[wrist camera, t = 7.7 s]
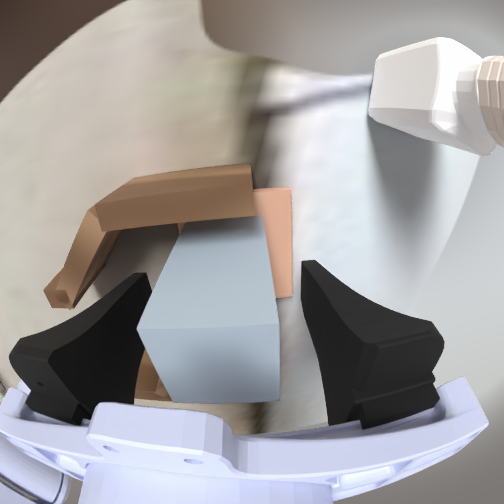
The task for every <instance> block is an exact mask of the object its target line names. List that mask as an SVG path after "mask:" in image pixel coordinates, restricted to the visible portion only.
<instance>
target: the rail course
mask: <svg viewBox="0 0 504 504" xmlns="http://www.w3.org/2000/svg"><path fill="white" fill-rule="evenodd" d="M247 216H255V208H254V195H253V183H252V173H251V164H250V163H245V164H234V165H224V166H214V167H205V168H197V169H189V170H182V171H174V172H168V173H161V174H155V175H149V176H143V177H137V178H133V179H132V180H130V181H129V182H127V183H126V184H124V185H122V186H121V187H119V188H118V189H116V190H115V191H113V192H112V193H111V194H109V195H108V196H106V197H105V198H103V199H102V200H100V201H99V202H98V203H96V204H95V205H94V206H93V207H91V208H90V209H89V210H87V213H86V215H85V217H84V219H83V221H82V223H81V226H80V228H79V230H78V232H77V235H76V237H75V239H74V242H73V244H72V247H71V249H70V252H69V254H68V257H67V259H66V262H65V265H64V268H63V269H62V270H61V271H60V272H59V273H58V274H57V275H56V276H55V277H54V279H53V280H52V281H51V282H50V283H49V284H48V285H47V287H46V288H45V289H44V292H45V295H46V297H47V299H48V301H49V303H50V305H51V307H52V308H68V309H69V310H71V308H73V309H74V308H75V307H76V305H77V304H78V302H79V301H80V299H81V298H82V297H83V295H84V294H85V292H86V291H87V290H88V288H89V287H90V285H91V284H92V283H93V281H94V280H95V279H96V277H97V276H98V275H99V273H100V272H101V271H102V269H103V268H104V267H105V266H106V265H105V263H104V262H105V260H106V258H107V256H108V254H109V253H110V251H111V249H112V247H113V245H114V244H115V242H116V240H117V238H118V237H119V235H120V233H121V231H122V230H123V229H129V228H137V227H145V226H154V225H163V224H172V223H182V222H191V221H202V220H212V219H223V218H235V217H247ZM134 398H137V399H146V400H158V401H172V399H171V397H170V395H169V394H168V392H167V390H166V388H165V386H164V384H163V383H162V381H161V379H160V377H159V375H158V373H157V371H156V369H155V367H154V365H153V363H152V361H151V359H150V357H149V355H148V353H147V351H146V349H145V351H144V354H143V357H142V360H141V363H140V367H139V372H138V377H137V383H136V390H135V397H134ZM172 402H173V401H172Z"/></svg>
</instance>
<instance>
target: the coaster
mask: <svg viewBox="0 0 504 504" xmlns="http://www.w3.org/2000/svg"><path fill="white" fill-rule="evenodd" d="M253 195H254V208H255V216H263V222H264V228H265V234H266V240H267V246H268V253H269V259H270V265H271V272H272V278H273V285H274V291H275V298H283V297H292V216H291V189H290V188H289V187H279V188H264V189H253ZM247 217H249V216H247ZM235 218H237V217H235ZM223 219H225V218H223ZM212 220H214V219H212ZM202 221H204V220H202ZM191 222H193V221H191ZM185 223H186V222H182V223H177V225H178V230H179V235H180V233H181V231H182V229H183V227H184V225H185Z"/></svg>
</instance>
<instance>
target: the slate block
mask: <svg viewBox="0 0 504 504" xmlns="http://www.w3.org/2000/svg"><path fill="white" fill-rule="evenodd" d="M137 331H138V333H139V335H140V338H141V340H142V342H143V344H144V346H145V349H146V351H147V353H148V355H149V357H150V359H151V361H152V363H153V365H154V367H155V369H156V371H157V373H158V375H159V377H160V379H161V381H162V383H163V384H164V386H165V388H166V390H167V392H168V394H169V395H170V397H171V399H172V401H173V402H174V403H199V404H227V403H254V402H269V401H280V336H279V318H278V311H277V305H276V298H275V291H274V285H273V278H272V272H271V265H270V259H269V253H268V246H267V240H266V234H265V228H264V222H263V216H249V217H237V218H225V219H214V220H204V221H193V222H186V223H185V225H184V227H183V229H182V231H181V233H180V235H179V237H178V239H177V241H176V243H175V245H174V247H173V249H172V251H171V253H170V255H169V257H168V259H167V262H166V264H165V266H164V268H163V270H162V272H161V274H160V276H159V279H158V281H157V283H156V285H155V287H154V289H153V292H152V294H151V296H150V298H149V301H148V303H147V305H146V307H145V310H144V312H143V314H142V317H141V319H140V321H139V324H138V326H137Z"/></svg>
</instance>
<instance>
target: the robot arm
mask: <svg viewBox="0 0 504 504" xmlns="http://www.w3.org/2000/svg"><path fill="white" fill-rule="evenodd" d="M151 294H152V290H151V287H150V284H149V280H148V277H147V274H146V273H135V274H133V275H131V276H130V277H128V278H127V279H126V280H124V281H123V282H122V283H120V284H119V285H118V286H117V287H115V288H114V289H113V290H111V291H110V292H109V293H108V294H106V295H105V296H104V297H102V298H101V299H100V300H98V301H97V302H96V303H94V304H93V305H92V306H90V307H89V308H87V309H86V310H84V311H82V312H81V313H79V314H78V315H76V316H74V317H72V318H71V319H69V320H67V321H65V322H63V323H61V324H59V325H57V326H55V327H52V328H50V329H48V330H45V331H42V332H40V333H37V334H34V335H30V336H27V337H24V338H20V339H19V341H18V342H17V344H16V345H15V347H14V348H13V350H12V351H11V353H10V354H9V360H10V363H11V365H12V367H13V369H14V370H15V372H16V373H17V374H18V376H19V377H20V378H21V381H20V383H19V384H18V386H17V388H16V389H15V388H12V387H9V389H8V391H7V393H6V395H5V397H4V399H3V401H2V403H1V405H0V476H1V477H2V478H3V479H5V480H6V481H8V482H9V483H11V484H13V485H14V486H16V487H18V488H19V489H21V490H23V491H24V492H26V493H28V494H29V495H31V496H33V497H35V498H37V499H39V500H34V499H31V498H29V497H27V496H25V495H23V494H22V493H20V492H18V491H17V490H15V489H13V488H12V487H10V486H8V485H7V484H5V483H4V482H2V481H1V480H0V504H64V503H65V501H66V499H67V497H68V495H69V491H70V487H71V477H74V478H76V479H79V480H81V481H83V485H82V490H81V494H80V498H79V503H78V504H333V501H335V500H339V499H343V498H347V497H351V496H354V495H358V494H361V493H364V492H367V491H370V490H373V489H376V488H379V487H382V486H385V485H387V484H390V483H392V482H395V481H398V480H400V479H402V478H405V477H407V476H410V475H412V474H414V473H416V472H419V471H421V470H423V469H425V468H427V467H429V466H431V465H433V464H436V463H438V462H440V461H442V460H444V459H445V458H448V457H450V456H452V455H453V454H455V453H457V452H458V451H459V450H461V449H462V448H463V447H464V446H466V445H467V444H468V443H469V442H470V441H471V440H472V439H474V438H475V437H476V436H477V435H478V434H479V433H480V432H481V431H482V430H483V429H485V428H486V426H488V424H489V422H488V420H487V418H486V416H485V414H484V412H483V410H482V408H481V406H480V404H479V402H478V400H477V399H476V396H475V394H474V393H473V391H472V389H471V387H470V386H469V384H468V382H467V380H466V378H465V377H464V376H462V377H459V378H457V379H455V380H452V381H450V382H447V383H445V384H443V385H441V386H440V387H438V388H437V389H435V387H434V385H433V383H434V382H435V377H434V375H433V373H432V371H433V369H434V367H435V366H436V364H437V362H438V360H439V358H440V356H441V354H442V352H443V349H444V340H443V337H442V336H441V334H440V333H439V331H438V330H437V329H436V327H435V326H434V324H433V323H432V322H431V321H427V320H423V319H419V318H415V317H411V316H407V315H404V314H401V313H398V312H395V311H393V310H390V309H388V308H386V307H383V306H381V305H379V304H377V303H375V302H373V301H371V300H369V299H367V298H365V297H364V296H362V295H360V294H358V293H357V292H355V291H354V290H352V289H351V288H349V287H348V286H347V285H345V284H344V283H342V282H341V281H340V280H338V279H337V278H336V277H335V276H333V275H332V274H331V273H330V272H329V271H327V270H326V269H325V268H324V267H323V266H322V265H320V264H319V263H318V262H317V261H316V260H308V261H302V264H301V302H302V307H303V312H304V317H305V320H306V323H307V326H308V329H309V332H310V335H311V338H312V341H313V344H314V347H315V350H316V353H317V357H318V361H319V366H320V371H321V376H322V382H323V388H324V394H325V401H326V408H327V415H328V424H329V426H327V427H321V428H314V429H307V430H300V431H292V432H283V433H271V434H255V435H233V432H232V429H231V427H230V426H229V425H228V424H227V423H226V422H225V421H224V420H223V419H222V418H221V417H218V416H215V415H213V414H210V413H208V412H204V411H197V410H190V409H177V408H162V407H150V406H141V405H134V397H135V390H136V383H137V377H138V372H139V367H140V363H141V360H142V357H143V354H144V351H145V346H144V344H143V342H142V340H141V338H140V335H139V333H138V331H137V326H138V324H139V321H140V319H141V317H142V314H143V312H144V310H145V307H146V305H147V303H148V301H149V298H150V296H151Z"/></svg>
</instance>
